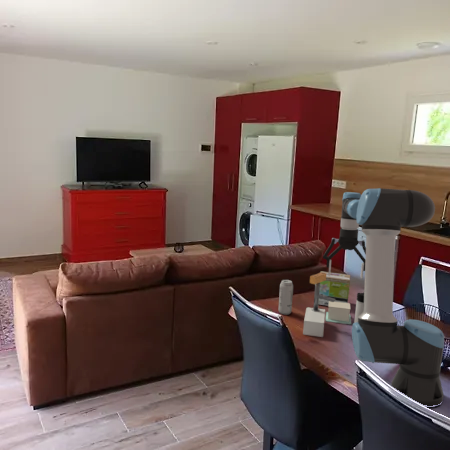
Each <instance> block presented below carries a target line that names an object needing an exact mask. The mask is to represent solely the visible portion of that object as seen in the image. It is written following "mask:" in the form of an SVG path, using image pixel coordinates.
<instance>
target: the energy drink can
mask: <svg viewBox="0 0 450 450" xmlns="http://www.w3.org/2000/svg"><path fill="white" fill-rule="evenodd" d="M293 294H294V284H293V281H292V280H289V279H282V280H281V282H280V284H279V295H278V296H279V297H278V312H279V314H281V315H285V316H286V315H287V316H288V315H290V314H291V313H292V312H293V310H292V309H293V297H294V296H293Z"/></svg>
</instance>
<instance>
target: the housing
mask: <svg viewBox="0 0 450 450" xmlns="http://www.w3.org/2000/svg"><path fill="white" fill-rule="evenodd" d="M313 308H314V307H309V306H308V307H306V309H305V315H304V320H303V329H302V335H305V336H311V337H319V338H320V337H321V338H324V329H325V320H326V309H325V308H318V311H315V310H313Z"/></svg>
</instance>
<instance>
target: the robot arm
mask: <svg viewBox="0 0 450 450" xmlns="http://www.w3.org/2000/svg"><path fill="white" fill-rule="evenodd" d="M341 201H342V204H341V217H340V229H339V238H335V237H332V238H331V242H330V244H329V246H328V247H327V249H326V250H325V252H324V254H323V255H322V259H324V260H326V268H328V272H329V275H328V276H330V273H332V271H331V270H332V259H333V257H335V256H336V255H337V254H338V252H340V251H341V250H342V249H343V250H345V251H354V252H355V254H356V255H357V256H358V257H359V259H360V260H361V261H362V262H361V266H360V267H361V269H360V279H361V280H363V279H364V287H363V288H364V311H363V313H362V314H361V315H359V316H358V322H355V321H354V322H355V323H354V322H353V323H352V324H351V339H352V340H351V341H352V345H353V350H354V353H355V355H356V358H357V359H358V360H360V361H361V362H365V363H372V364H375V363H377V364H378V363H379V364H380V363H381V364H391V365H399V368H398V369H397V371H396V373H395V374H394V376H393V378H392V380H391V385H392V386H393V387H394V388H396V389H397V390H399V391H400V392H402V393H404V394H405V395H407V396H408V397H410V398H412V399H413V400H415V401H417V402H419V403H421V404H423V405H427V406H433V405H438V404H440V403H441V402H442V401H444V391H443V386H442V382H441V377H440V376H441V375H440V374H441V369H442V361H443V354H444V348H445V333H443V331H442V330H441V329H440V328H439V327H437V326H435V325H434V324H431V323H429V322H426V321H423V320H419V319H411V318H409V319H406V320H404V322H403V325H398V319H397V318H396V317H395V315H394V314H393V313H394V312H393V309H394V308H393V307H394V306H393V305H394V304H393V303H394V279H395V277H394V275H395V244H396V237H397V236H398V235H399V234H400V233H401V231H402V230H401V228H402V227H403V228H405V227H406V228H414V227H419V226H422V225H425V224H427V223H429V221H431V220H432V219H433V217H434V216H435V213H436V212H435V211H436V205H435V203H434V201H433V199H432V198H431V197H430V196H429V195H428V194H426V193H425V192H421V191H418V190H414V189H395V188H383V187H382V188H381V187H379V188H366V189H365V190H363V192H362V194H361V193H360V192H351V191H346V192H343V195H342V199H341ZM359 226H361V232H362V233H363V234H364V235H365V238H366V239H365V240H366V241H365V240H364V239H362V240H359V239H358V237H359ZM337 243H338V246H337V247H336V248H335V250H333V251H332V248H333V247H334V245H336V244H337ZM358 245H360V246H361V247H362V250H363V252H364V255H365V257H364V256H363V254H362V253H361V251H360V250H359V249H358V248H357V246H358ZM331 251H332V252H331ZM330 252H331V253H330ZM329 253H330V254H329ZM391 385H390V386H391ZM442 403H443V402H442Z"/></svg>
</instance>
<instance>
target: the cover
mask: <svg viewBox="0 0 450 450" xmlns="http://www.w3.org/2000/svg"><path fill="white" fill-rule="evenodd" d="M350 311H351V303H349V302H348V303H342V302H331V301H329V306H328V310H327V312H328V319H331V320H339V321H347V322H349V315H351V314H350Z"/></svg>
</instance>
